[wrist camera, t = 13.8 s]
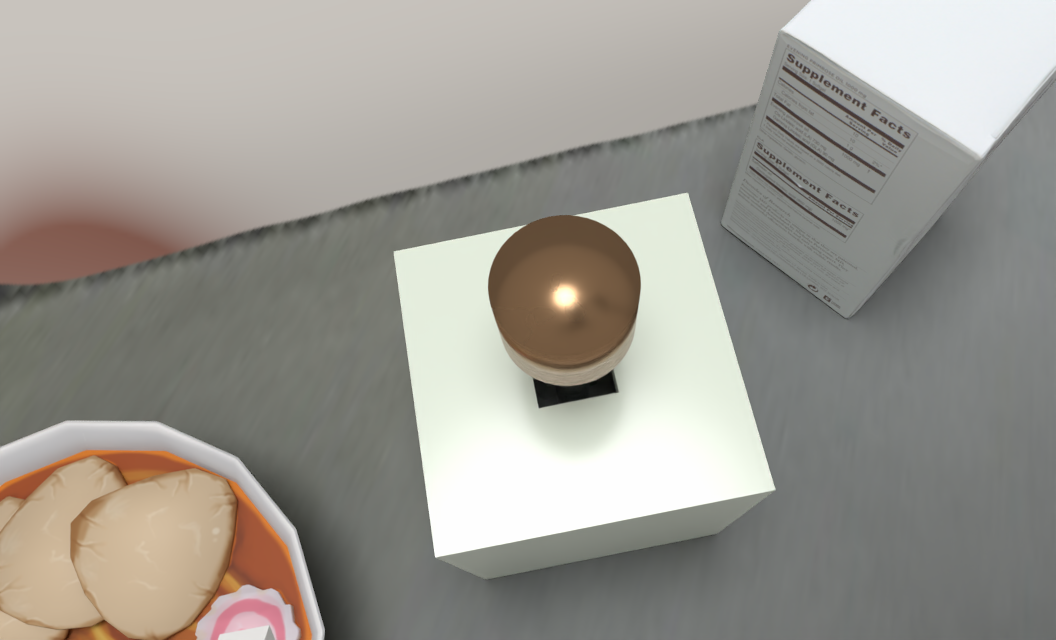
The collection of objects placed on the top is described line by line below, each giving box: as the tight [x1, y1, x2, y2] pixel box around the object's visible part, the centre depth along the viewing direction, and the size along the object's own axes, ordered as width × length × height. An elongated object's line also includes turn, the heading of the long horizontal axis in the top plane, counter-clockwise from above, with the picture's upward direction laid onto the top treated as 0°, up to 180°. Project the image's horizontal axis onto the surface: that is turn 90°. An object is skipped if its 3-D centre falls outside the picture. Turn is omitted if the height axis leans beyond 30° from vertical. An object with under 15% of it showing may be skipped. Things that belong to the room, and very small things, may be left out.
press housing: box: [394, 193, 775, 580], centre depth 37 cm, size 12×12×14 cm
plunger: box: [488, 215, 641, 408], centre depth 32 cm, size 9×9×19 cm
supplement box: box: [721, 0, 1056, 318], centre depth 39 cm, size 10×9×17 cm
